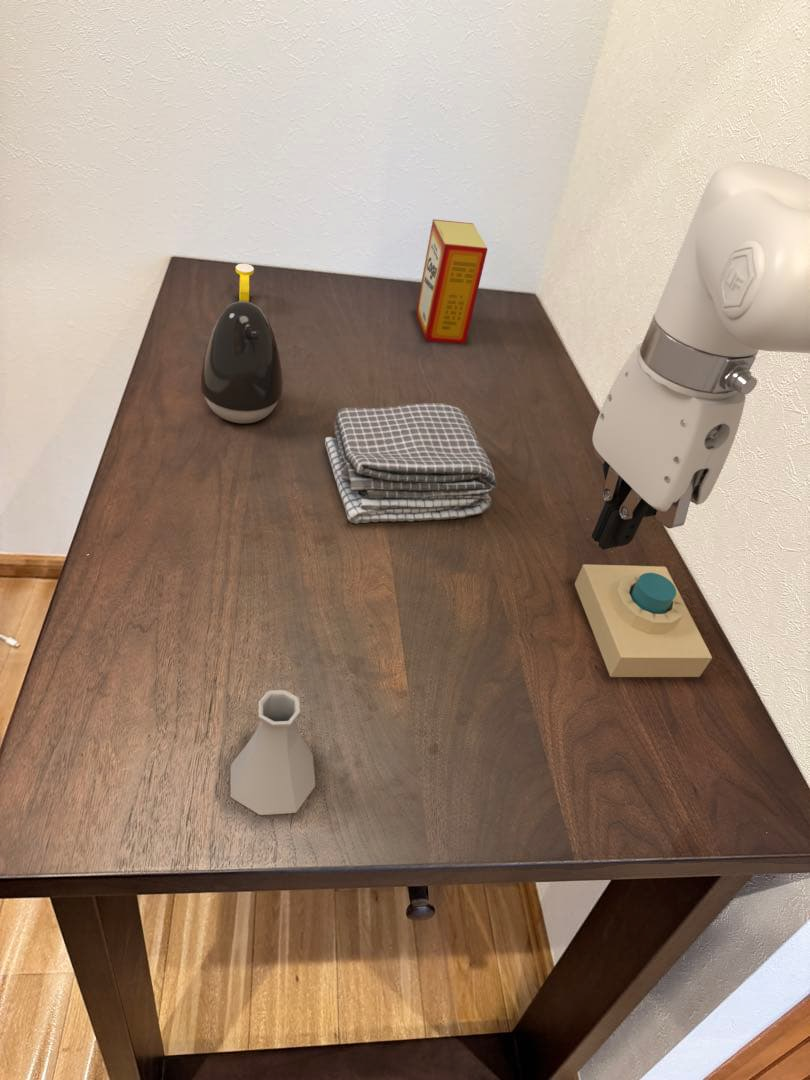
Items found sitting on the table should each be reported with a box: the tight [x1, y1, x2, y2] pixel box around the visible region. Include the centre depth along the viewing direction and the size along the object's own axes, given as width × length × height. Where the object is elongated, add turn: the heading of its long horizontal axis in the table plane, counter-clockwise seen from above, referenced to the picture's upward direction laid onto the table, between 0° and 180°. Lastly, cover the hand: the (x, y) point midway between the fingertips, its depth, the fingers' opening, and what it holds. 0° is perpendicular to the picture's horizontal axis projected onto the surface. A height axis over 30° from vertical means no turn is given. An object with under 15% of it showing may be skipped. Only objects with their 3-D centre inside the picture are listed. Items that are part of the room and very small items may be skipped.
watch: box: [235, 263, 255, 302], centre depth 122 cm, size 6×3×6 cm, turn 9°
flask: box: [229, 689, 316, 816], centre depth 62 cm, size 7×7×10 cm
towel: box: [324, 402, 498, 525], centre depth 94 cm, size 15×18×8 cm
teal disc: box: [631, 573, 676, 614], centre depth 81 cm, size 4×4×2 cm
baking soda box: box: [415, 218, 488, 344], centre depth 124 cm, size 10×6×16 cm
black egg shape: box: [200, 300, 284, 424], centre depth 97 cm, size 10×10×15 cm
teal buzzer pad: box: [574, 563, 713, 678], centre depth 83 cm, size 13×10×5 cm
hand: (609, 540), depth 68 cm, fingers closed
